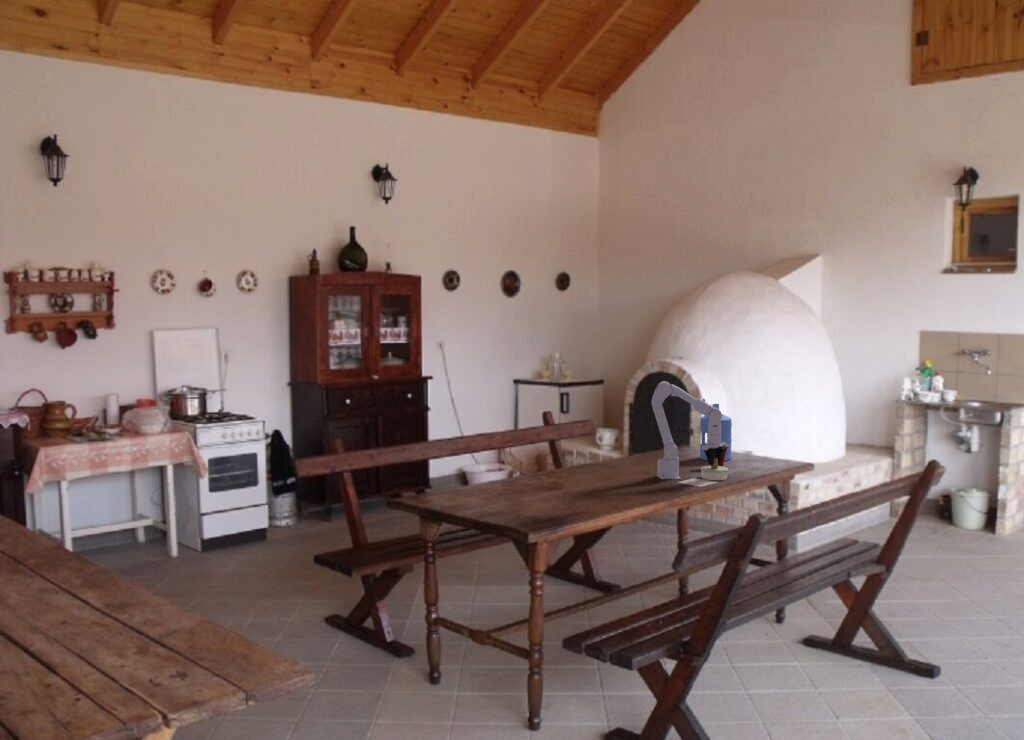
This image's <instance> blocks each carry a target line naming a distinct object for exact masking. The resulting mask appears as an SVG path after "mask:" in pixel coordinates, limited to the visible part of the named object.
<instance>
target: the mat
mask: <svg viewBox="0 0 1024 740" xmlns="http://www.w3.org/2000/svg"><path fill="white" fill-rule="evenodd" d="M676 483H677V484H685V485H689V486H690V485H691V486H695V487H701V488H702V487H705V486H709V485H713V484H717V483H719V481H715V480H707V479H703V478H702V479H701V478H696V477H695V478H694V477H693V478H688V479H685V480H682V481H677V482H676Z"/></svg>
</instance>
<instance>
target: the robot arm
mask: <svg viewBox="0 0 1024 740" xmlns="http://www.w3.org/2000/svg"><path fill="white" fill-rule="evenodd" d="M669 396H671V397H679V398H680V399H682V400H684V401H685V402H687V403H688V404H690V405H692V408H693V410H695V411H697V413H700V414H701V415H703V416H708V417H709V424H708V444H706V445H703V446H702V450H704V452H705V454H706V456H707V459H708V461H707V463H708V466H710V465H713V464H714V456H715V458H718V464H720V461H721V457H722V455H723V453H724V451H725V448H722V447H726V443H725V442H721V418H722V414H723V413H722V411H721V410H720V408H719V409H718V408H717V407H714V405H713V404H711V403H709V402H708V401H706V398H701V397H699V398H696V397H694V396H692V394H689V393H688V392H686V391H685V390H683V389H682V388H680V387H679V386H677V385H675V384H673V383H671V384H670V382H669V381H666V380H663V381H660V382H659V383H658V384H657V386H656V387H655V389H654V392H653V395H652V398H651V406H652V407H651V408H652V410H653V413H654V416H655V420H656V423H657V426H658V430H659V433H660V436H661V439H662V444H663V454H664V456H662V458H658V459H657V472H656V474H657V477H658V478H659V479H660V480H675V479H676V480H677V479H678V480H679V479H682V477H681V476H679V475H680V470H679V469H680V466H679V465H680V460H679V459H680V457H679V449H678V446H677V445H676V444H675V442H674V439H673V436H672V434H671V430H670V426H669V424H668V420H667V416H666V414H665V410H664V407H663V403H664V402H665V400H666V399H667V398H668V397H669ZM721 413H722V414H721Z"/></svg>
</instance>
